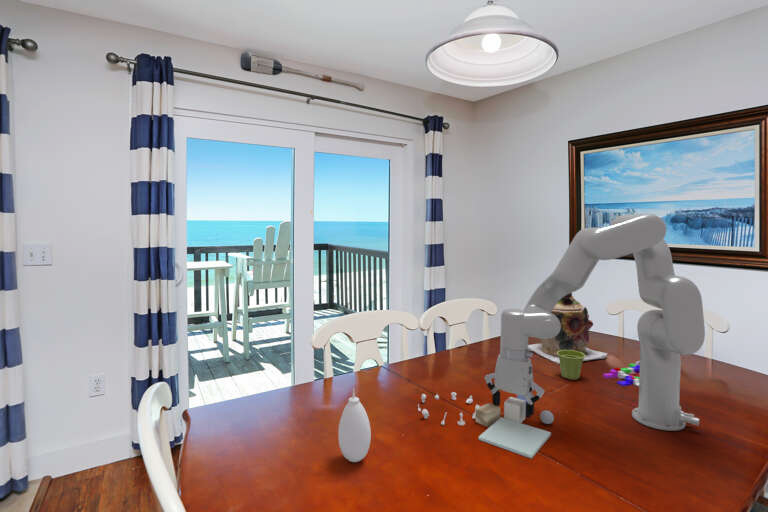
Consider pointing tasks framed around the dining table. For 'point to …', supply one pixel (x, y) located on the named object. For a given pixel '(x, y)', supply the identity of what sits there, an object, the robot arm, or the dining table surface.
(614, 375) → the building block set
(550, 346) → the cookie jar
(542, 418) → the grey ball
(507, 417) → the cream block
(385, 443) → the dining table surface
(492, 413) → the sand wood block
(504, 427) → the seafoam tile
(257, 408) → the dining table surface
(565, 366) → the plant pot
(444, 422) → the game piece set
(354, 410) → the white air blower bulb
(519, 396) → the blue cube
